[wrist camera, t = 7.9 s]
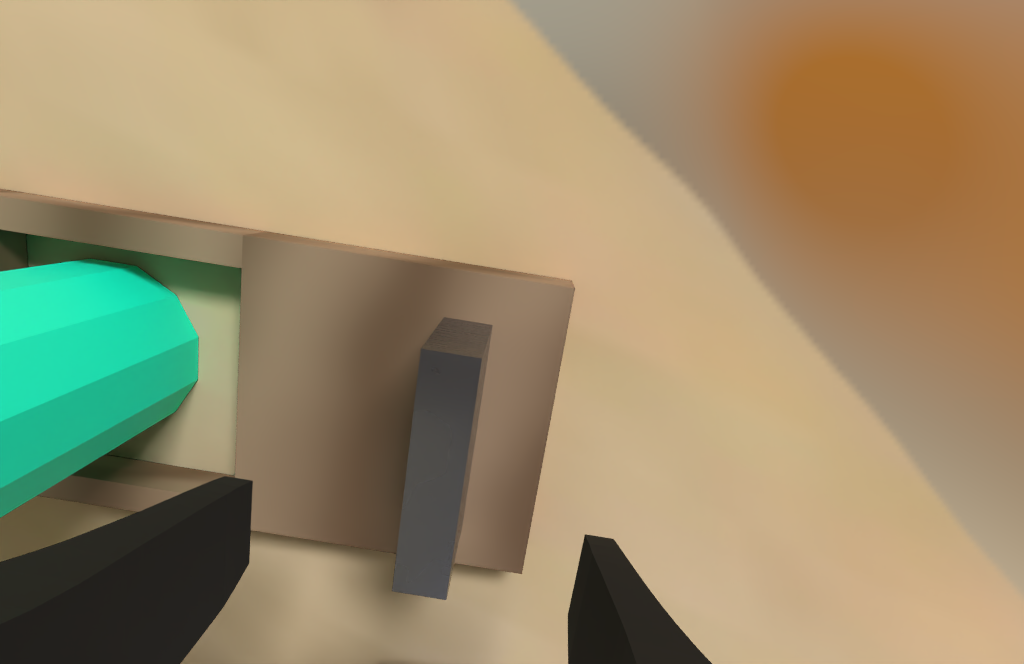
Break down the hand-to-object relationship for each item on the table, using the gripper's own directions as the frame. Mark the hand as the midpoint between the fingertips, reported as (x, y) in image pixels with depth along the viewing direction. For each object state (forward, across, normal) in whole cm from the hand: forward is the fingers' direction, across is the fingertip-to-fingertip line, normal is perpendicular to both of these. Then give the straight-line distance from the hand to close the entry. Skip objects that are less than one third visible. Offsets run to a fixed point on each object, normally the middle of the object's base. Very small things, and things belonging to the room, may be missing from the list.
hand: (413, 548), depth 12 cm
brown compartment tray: (+8, +7, 0) cm, 10 cm away
